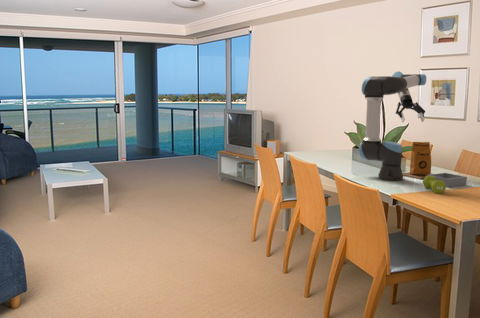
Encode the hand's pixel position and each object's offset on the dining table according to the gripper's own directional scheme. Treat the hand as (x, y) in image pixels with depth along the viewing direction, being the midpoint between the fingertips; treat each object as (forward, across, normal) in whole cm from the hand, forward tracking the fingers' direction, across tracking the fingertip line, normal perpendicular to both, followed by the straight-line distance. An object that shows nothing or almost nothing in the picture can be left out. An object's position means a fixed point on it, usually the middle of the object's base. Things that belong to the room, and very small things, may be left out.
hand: (413, 120), depth 299 cm
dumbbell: (+64, +10, +14) cm, 67 cm away
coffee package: (+34, -1, -15) cm, 37 cm away
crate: (+52, -6, +2) cm, 52 cm away
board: (+34, -1, -16) cm, 38 cm away
